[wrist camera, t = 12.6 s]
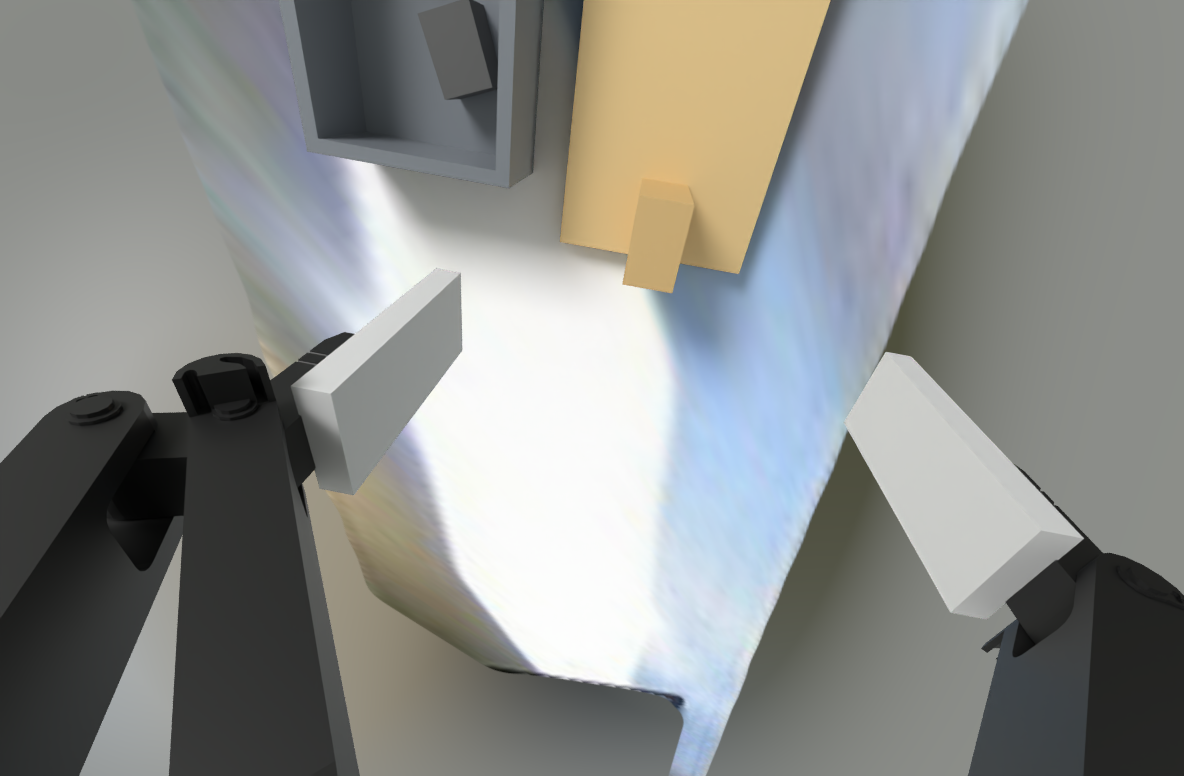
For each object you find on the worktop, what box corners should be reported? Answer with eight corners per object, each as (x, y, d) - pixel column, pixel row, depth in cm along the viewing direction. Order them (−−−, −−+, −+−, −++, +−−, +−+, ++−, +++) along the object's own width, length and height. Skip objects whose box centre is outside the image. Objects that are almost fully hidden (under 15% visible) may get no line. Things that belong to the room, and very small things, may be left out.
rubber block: (436, 19, 26) (417, 13, 24) (483, 5, 26) (468, -3, 24) (460, 99, 28) (444, 99, 26) (504, 87, 28) (492, 87, 26)
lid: (603, -138, 23) (581, -229, 16) (854, -98, 23) (933, -175, 16) (564, 235, 33) (541, 269, 27) (735, 265, 33) (753, 308, 27)
